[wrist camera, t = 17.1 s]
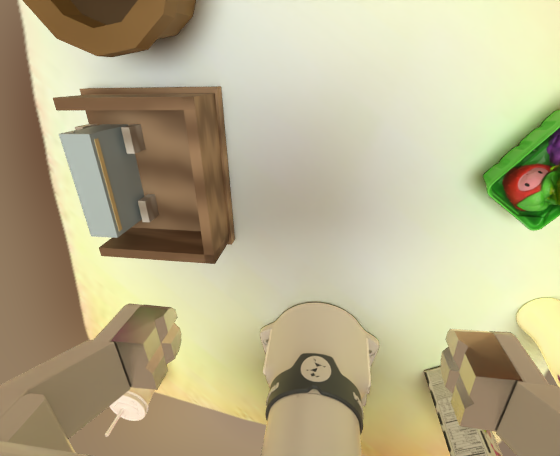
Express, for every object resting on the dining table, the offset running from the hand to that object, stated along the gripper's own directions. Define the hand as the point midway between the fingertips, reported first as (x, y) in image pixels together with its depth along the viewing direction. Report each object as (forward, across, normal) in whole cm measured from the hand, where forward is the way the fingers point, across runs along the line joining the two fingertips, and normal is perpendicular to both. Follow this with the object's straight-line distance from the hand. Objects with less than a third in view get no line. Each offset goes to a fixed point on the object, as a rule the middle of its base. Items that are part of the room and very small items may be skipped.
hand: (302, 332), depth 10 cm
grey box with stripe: (+30, +26, +4) cm, 40 cm away
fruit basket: (+32, -23, +3) cm, 39 cm away
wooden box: (+31, +21, +4) cm, 38 cm away
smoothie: (+32, +31, +40) cm, 60 cm away
